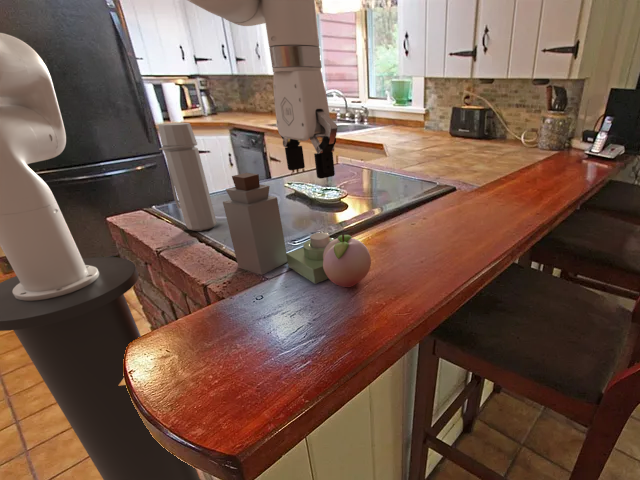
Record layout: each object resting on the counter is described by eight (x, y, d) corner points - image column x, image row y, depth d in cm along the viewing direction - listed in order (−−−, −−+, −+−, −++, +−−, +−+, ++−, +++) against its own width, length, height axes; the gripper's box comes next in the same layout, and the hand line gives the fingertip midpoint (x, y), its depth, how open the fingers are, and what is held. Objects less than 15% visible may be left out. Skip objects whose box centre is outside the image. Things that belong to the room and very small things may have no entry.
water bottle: (224, 222, 96) (199, 122, 85) (205, 233, 90) (175, 125, 78) (193, 221, 98) (165, 122, 87) (172, 231, 91) (139, 125, 80)
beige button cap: (307, 245, 70) (306, 235, 69) (323, 240, 72) (322, 231, 71) (317, 251, 68) (316, 241, 67) (333, 245, 70) (332, 235, 69)
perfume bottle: (265, 255, 77) (248, 170, 69) (287, 261, 74) (272, 173, 66) (238, 267, 72) (216, 177, 64) (261, 275, 69) (242, 181, 61)
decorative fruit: (375, 297, 61) (372, 242, 57) (326, 302, 60) (319, 247, 56) (369, 272, 70) (366, 223, 65) (326, 276, 68) (320, 226, 64)
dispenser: (288, 266, 72) (284, 243, 70) (330, 252, 78) (327, 230, 76) (315, 284, 66) (311, 259, 63) (358, 266, 72) (357, 243, 69)
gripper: (249, 64, 59) (268, 169, 67) (304, 57, 48) (319, 185, 56) (291, 65, 64) (304, 163, 72) (349, 59, 53) (357, 176, 60)
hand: (310, 172), depth 64 cm, fingers open, 9 cm apart
